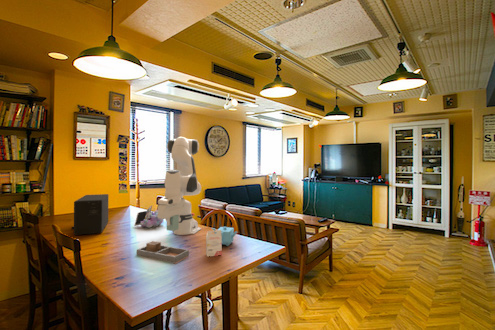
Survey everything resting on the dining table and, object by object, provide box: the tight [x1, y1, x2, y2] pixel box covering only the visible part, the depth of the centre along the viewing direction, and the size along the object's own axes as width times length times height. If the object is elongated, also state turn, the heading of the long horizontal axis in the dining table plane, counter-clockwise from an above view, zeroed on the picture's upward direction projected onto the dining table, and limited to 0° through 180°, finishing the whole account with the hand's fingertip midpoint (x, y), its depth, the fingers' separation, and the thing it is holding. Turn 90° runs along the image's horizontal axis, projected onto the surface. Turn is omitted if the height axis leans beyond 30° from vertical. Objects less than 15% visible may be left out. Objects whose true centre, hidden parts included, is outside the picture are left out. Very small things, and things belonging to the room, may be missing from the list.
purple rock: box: [134, 205, 164, 229], centre depth 208 cm, size 20×22×18 cm
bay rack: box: [136, 244, 190, 265], centre depth 144 cm, size 12×27×4 cm, turn 67°
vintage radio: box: [71, 193, 109, 236], centre depth 198 cm, size 38×20×25 cm, turn 22°
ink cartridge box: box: [205, 229, 223, 257], centre depth 147 cm, size 9×5×15 cm, turn 105°
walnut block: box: [145, 240, 162, 253], centre depth 146 cm, size 5×6×6 cm
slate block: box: [166, 215, 179, 232], centre depth 141 cm, size 4×4×8 cm
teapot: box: [211, 226, 238, 247], centre depth 167 cm, size 16×18×11 cm
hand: (172, 224), depth 141 cm, fingers closed on slate block, 4 cm apart
